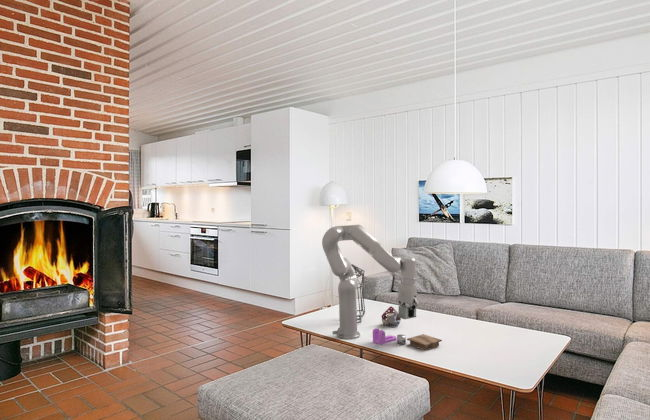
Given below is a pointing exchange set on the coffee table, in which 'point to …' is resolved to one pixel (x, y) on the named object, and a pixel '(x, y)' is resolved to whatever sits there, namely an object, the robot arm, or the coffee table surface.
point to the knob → (401, 339)
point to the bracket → (382, 337)
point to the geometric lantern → (360, 291)
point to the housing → (405, 312)
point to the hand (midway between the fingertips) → (407, 315)
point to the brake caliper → (390, 318)
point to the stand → (424, 341)
